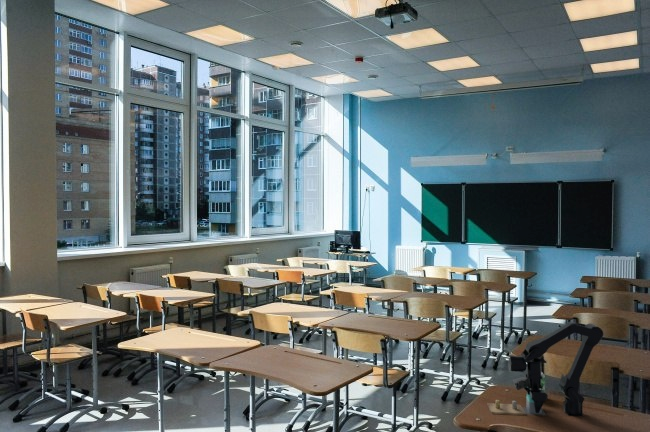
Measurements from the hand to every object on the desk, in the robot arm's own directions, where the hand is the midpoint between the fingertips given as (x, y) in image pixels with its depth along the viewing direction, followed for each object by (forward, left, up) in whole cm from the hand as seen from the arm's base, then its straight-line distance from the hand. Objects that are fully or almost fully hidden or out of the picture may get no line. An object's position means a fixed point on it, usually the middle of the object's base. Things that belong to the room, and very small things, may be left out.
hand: (534, 408), depth 218 cm
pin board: (+11, 0, -1) cm, 12 cm away
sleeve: (0, 0, -1) cm, 1 cm away
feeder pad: (0, 0, -1) cm, 1 cm away
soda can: (-5, -16, -2) cm, 17 cm away
